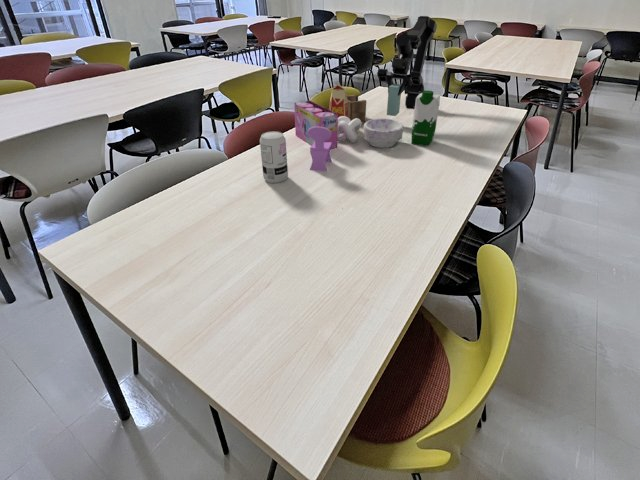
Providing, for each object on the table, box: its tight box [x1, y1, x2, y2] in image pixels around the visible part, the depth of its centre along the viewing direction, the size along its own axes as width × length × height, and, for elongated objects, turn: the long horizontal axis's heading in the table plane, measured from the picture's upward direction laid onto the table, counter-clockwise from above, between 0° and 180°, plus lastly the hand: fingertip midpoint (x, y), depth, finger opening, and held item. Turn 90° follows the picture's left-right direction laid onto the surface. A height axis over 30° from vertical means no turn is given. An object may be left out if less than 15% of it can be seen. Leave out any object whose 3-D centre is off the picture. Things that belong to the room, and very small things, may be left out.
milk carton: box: [328, 81, 349, 133], centre depth 166 cm, size 9×9×20 cm
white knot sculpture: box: [337, 116, 362, 144], centre depth 158 cm, size 11×12×9 cm
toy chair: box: [308, 126, 333, 172], centre depth 136 cm, size 8×9×15 cm
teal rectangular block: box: [386, 83, 402, 117], centre depth 169 cm, size 5×4×12 cm
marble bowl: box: [363, 118, 404, 149], centre depth 154 cm, size 15×15×8 cm
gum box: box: [293, 100, 338, 151], centre depth 156 cm, size 24×8×14 cm, turn 29°
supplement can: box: [259, 130, 289, 184], centre depth 127 cm, size 8×8×15 cm
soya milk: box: [410, 90, 441, 147], centre depth 151 cm, size 9×9×20 cm
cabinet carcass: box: [347, 94, 367, 123], centre depth 180 cm, size 10×11×10 cm
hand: (393, 94), depth 166 cm, fingers closed on teal rectangular block, 4 cm apart
